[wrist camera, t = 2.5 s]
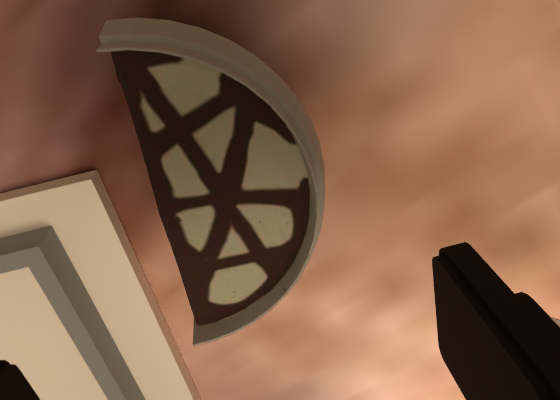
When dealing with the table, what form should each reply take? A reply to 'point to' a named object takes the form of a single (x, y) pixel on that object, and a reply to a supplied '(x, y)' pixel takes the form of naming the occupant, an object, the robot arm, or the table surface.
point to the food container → (221, 166)
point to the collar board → (81, 299)
